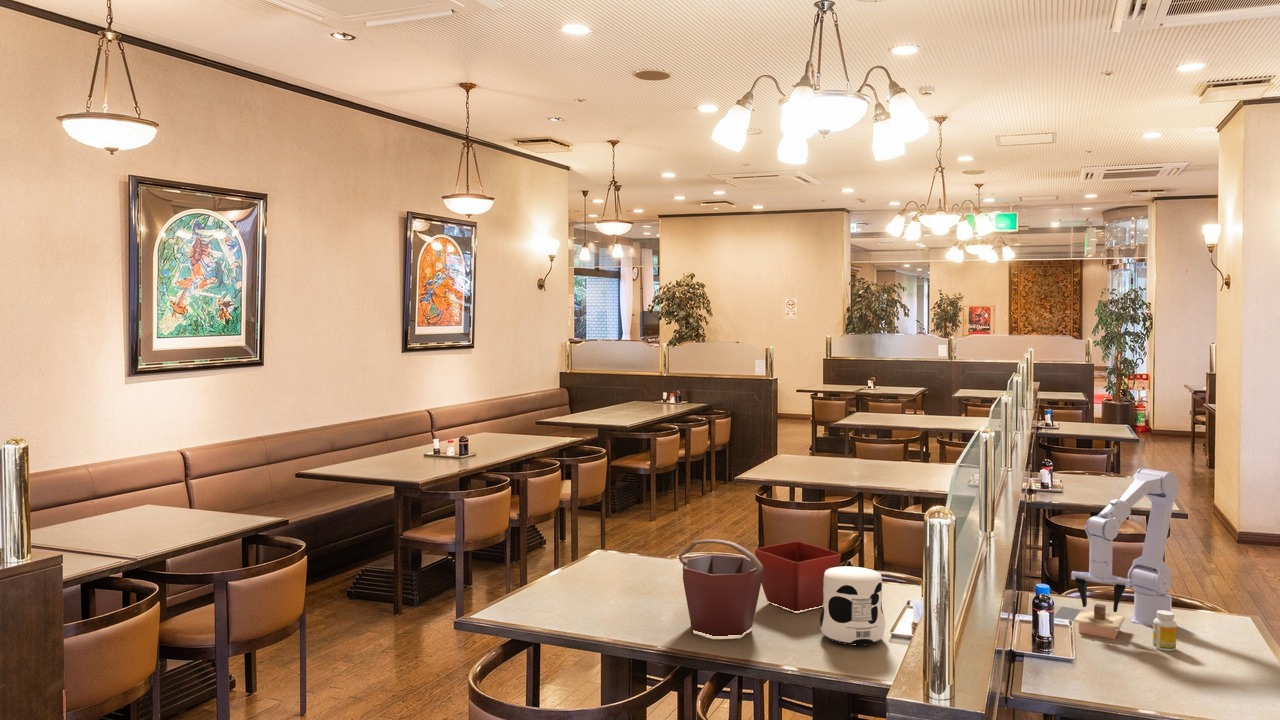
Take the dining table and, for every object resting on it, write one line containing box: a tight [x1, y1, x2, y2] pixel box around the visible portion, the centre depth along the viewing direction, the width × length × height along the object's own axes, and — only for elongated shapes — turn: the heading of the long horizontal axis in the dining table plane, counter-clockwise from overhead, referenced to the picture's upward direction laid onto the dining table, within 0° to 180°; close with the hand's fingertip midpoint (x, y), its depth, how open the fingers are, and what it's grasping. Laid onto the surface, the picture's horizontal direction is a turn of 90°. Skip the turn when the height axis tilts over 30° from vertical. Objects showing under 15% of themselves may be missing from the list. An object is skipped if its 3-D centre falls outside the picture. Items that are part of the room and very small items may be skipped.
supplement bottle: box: [1152, 610, 1178, 652], centre depth 239 cm, size 5×5×10 cm
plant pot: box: [754, 540, 842, 611], centre depth 274 cm, size 19×19×17 cm
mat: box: [1054, 605, 1081, 621], centre depth 264 cm, size 14×12×1 cm
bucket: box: [677, 539, 763, 636], centre depth 253 cm, size 24×22×25 cm
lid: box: [1074, 603, 1126, 629], centre depth 251 cm, size 11×11×4 cm
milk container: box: [819, 565, 886, 646], centre depth 245 cm, size 17×17×18 cm
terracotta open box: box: [1078, 622, 1121, 640], centre depth 251 cm, size 9×9×4 cm
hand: (1099, 608), depth 251 cm, fingers open, 7 cm apart
